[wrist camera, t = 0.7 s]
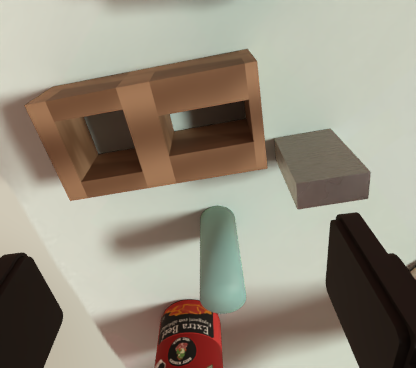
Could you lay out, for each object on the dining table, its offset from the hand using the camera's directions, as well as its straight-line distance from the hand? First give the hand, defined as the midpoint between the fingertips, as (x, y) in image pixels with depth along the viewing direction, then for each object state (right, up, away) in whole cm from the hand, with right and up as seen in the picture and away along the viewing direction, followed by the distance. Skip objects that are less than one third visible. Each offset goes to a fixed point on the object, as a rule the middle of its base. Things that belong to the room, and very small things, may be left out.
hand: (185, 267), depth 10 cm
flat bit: (+9, +6, +19) cm, 22 cm away
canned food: (-2, -15, +32) cm, 35 cm away
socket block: (-3, +9, +18) cm, 20 cm away
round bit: (+2, -1, +24) cm, 24 cm away
